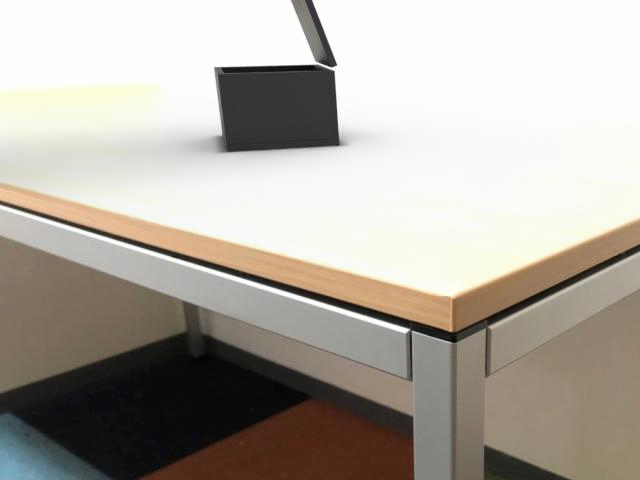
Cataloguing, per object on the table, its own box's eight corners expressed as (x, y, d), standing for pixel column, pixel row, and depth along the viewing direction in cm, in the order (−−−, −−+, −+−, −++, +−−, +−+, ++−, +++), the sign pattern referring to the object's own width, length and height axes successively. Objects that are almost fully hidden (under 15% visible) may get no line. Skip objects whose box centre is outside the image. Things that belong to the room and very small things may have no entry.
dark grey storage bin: (227, 151, 89) (217, 74, 86) (222, 136, 100) (213, 67, 97) (339, 145, 93) (334, 70, 90) (323, 131, 104) (318, 64, 101)
